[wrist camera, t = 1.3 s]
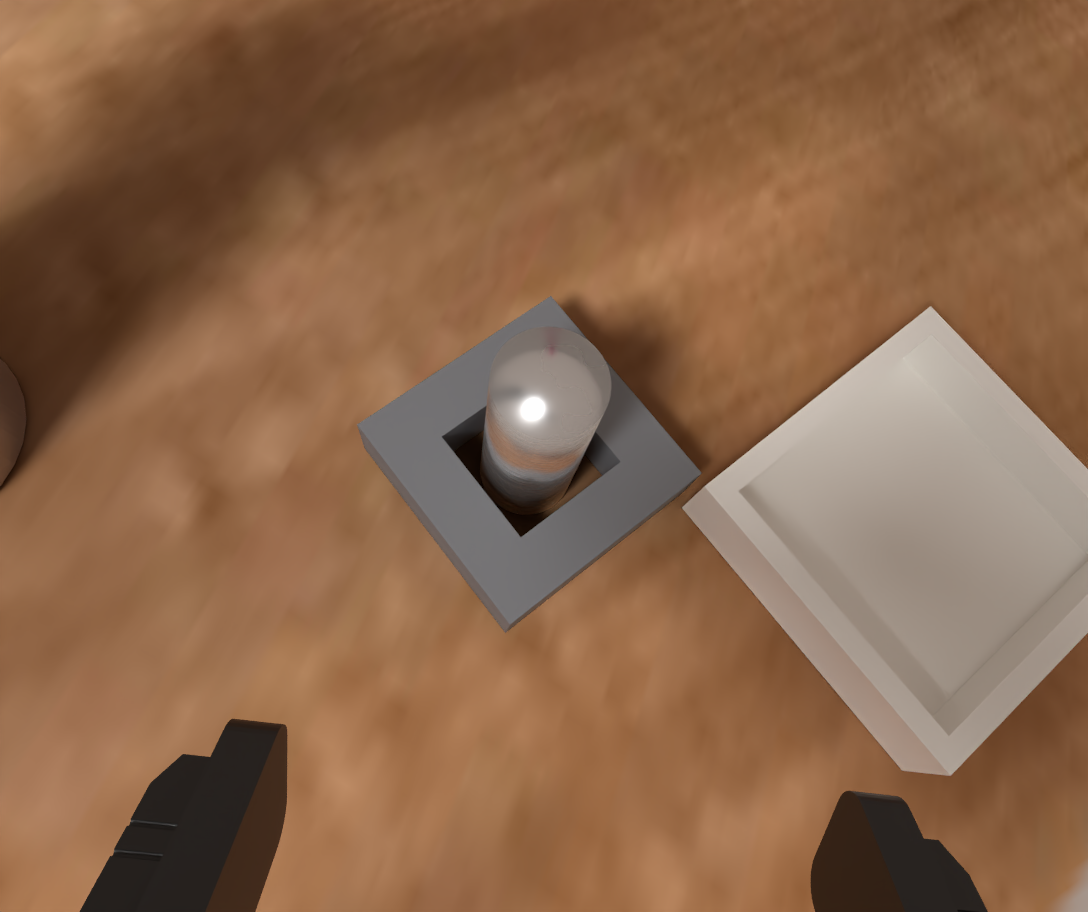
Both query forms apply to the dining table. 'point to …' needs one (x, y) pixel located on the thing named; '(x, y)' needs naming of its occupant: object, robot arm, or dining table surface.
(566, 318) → the socket block
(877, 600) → the tray
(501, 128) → the dining table surface
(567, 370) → the pin
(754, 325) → the dining table surface
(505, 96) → the dining table surface
